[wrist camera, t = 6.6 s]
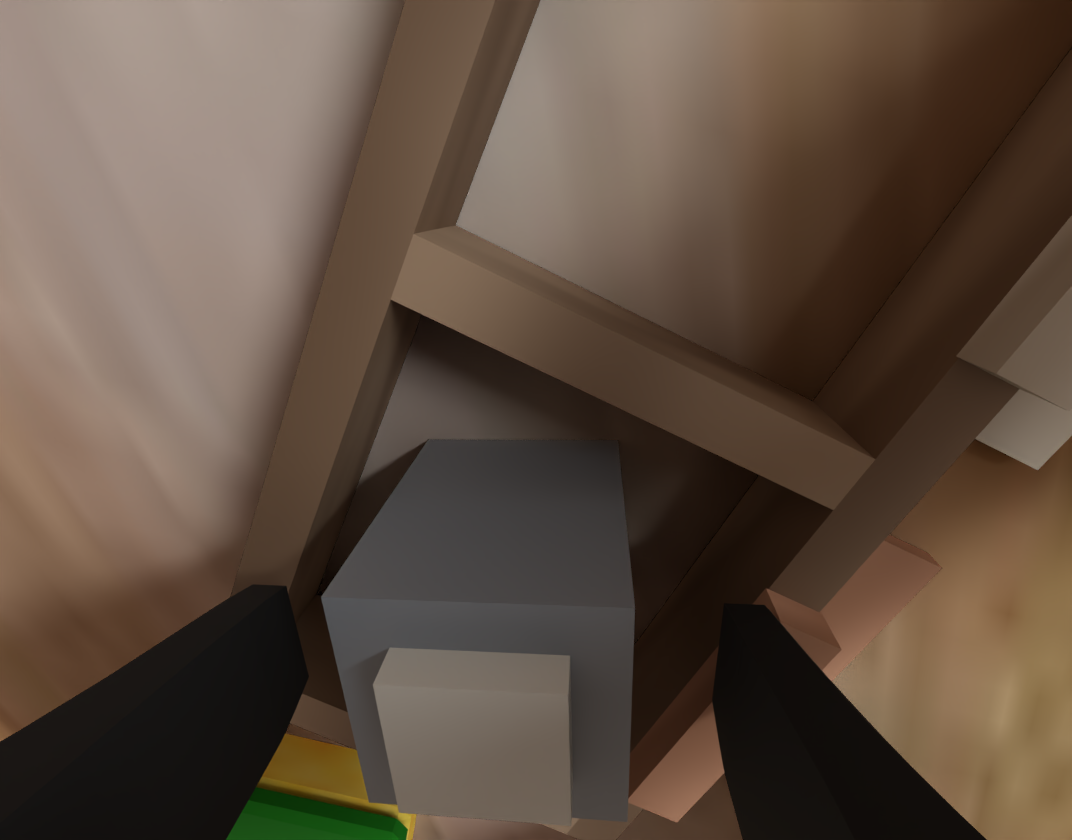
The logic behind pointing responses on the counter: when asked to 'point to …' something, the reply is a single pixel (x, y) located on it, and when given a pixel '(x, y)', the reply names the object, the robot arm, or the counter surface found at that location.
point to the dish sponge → (317, 799)
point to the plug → (493, 634)
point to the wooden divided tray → (674, 390)
